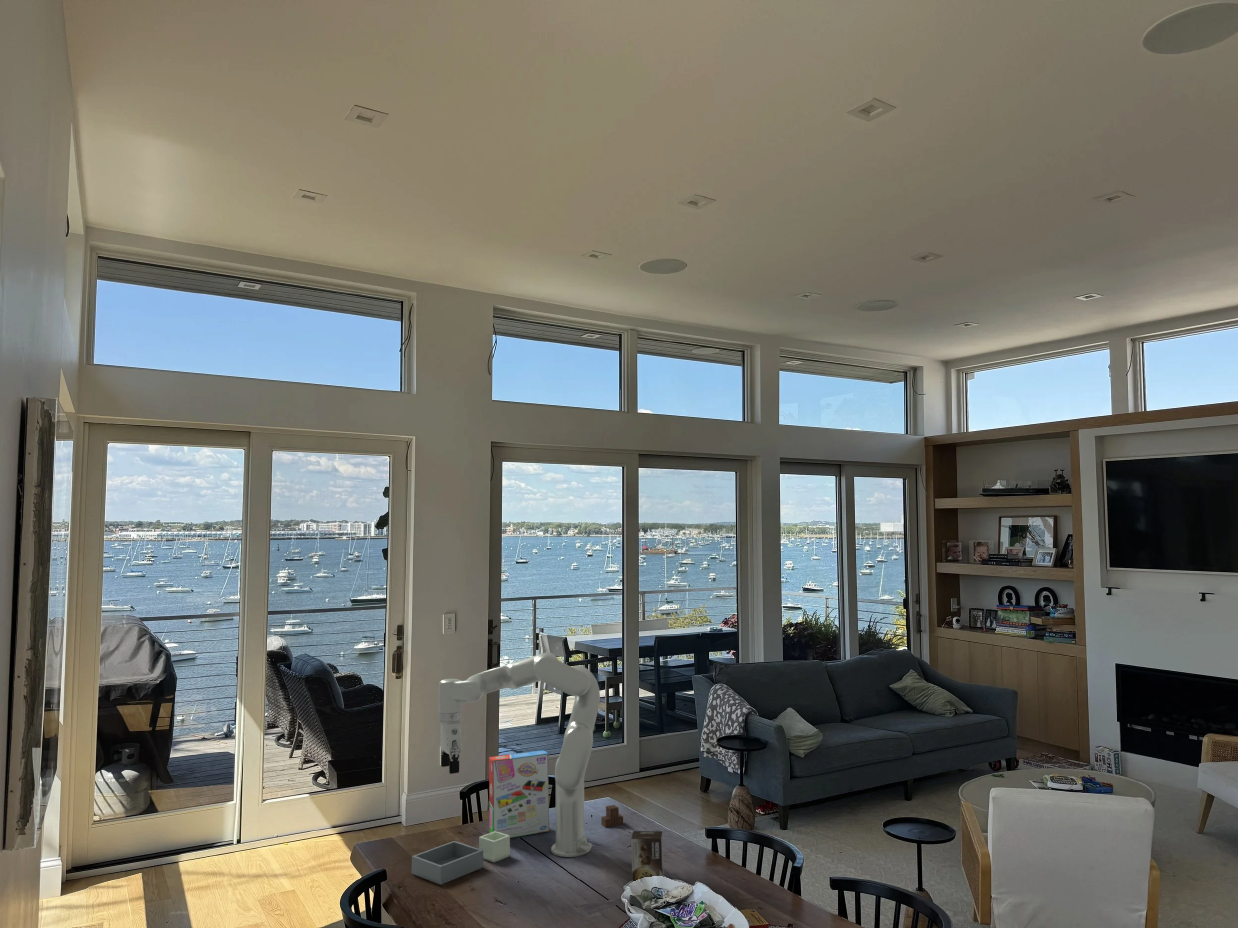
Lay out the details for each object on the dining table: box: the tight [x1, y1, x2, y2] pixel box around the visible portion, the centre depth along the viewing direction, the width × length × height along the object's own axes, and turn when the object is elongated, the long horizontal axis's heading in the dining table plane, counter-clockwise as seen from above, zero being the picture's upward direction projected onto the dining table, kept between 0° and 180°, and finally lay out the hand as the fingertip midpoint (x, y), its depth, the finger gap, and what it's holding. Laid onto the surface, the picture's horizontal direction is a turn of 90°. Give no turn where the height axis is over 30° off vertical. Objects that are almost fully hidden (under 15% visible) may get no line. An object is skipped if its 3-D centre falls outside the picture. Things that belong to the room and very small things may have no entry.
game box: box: [488, 749, 550, 839], centre depth 296 cm, size 21×6×27 cm, turn 114°
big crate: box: [411, 840, 484, 886], centre depth 263 cm, size 14×17×6 cm
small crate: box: [478, 831, 511, 864], centre depth 274 cm, size 7×7×6 cm
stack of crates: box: [600, 804, 624, 828], centre depth 303 cm, size 15×15×7 cm
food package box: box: [630, 830, 665, 882], centre depth 246 cm, size 9×6×16 cm
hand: (450, 769), depth 279 cm, fingers open, 9 cm apart
